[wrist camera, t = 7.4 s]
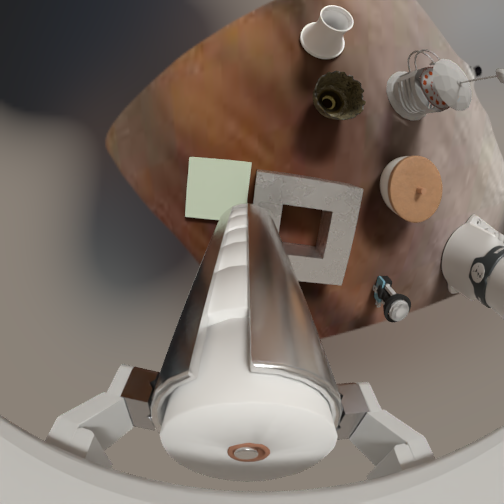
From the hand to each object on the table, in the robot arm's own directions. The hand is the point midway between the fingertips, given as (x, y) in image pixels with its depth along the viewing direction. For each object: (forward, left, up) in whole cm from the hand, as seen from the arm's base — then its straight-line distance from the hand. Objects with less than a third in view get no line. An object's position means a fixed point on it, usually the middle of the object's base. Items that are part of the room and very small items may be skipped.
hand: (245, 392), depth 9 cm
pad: (+6, -2, -38) cm, 39 cm away
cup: (-10, -19, -39) cm, 44 cm away
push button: (-27, +13, -39) cm, 49 cm away
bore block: (-8, +2, -38) cm, 39 cm away
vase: (-8, -31, -39) cm, 50 cm away
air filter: (+1, 0, -22) cm, 22 cm away
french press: (-25, -26, -39) cm, 53 cm away
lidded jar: (-25, -8, -39) cm, 47 cm away
